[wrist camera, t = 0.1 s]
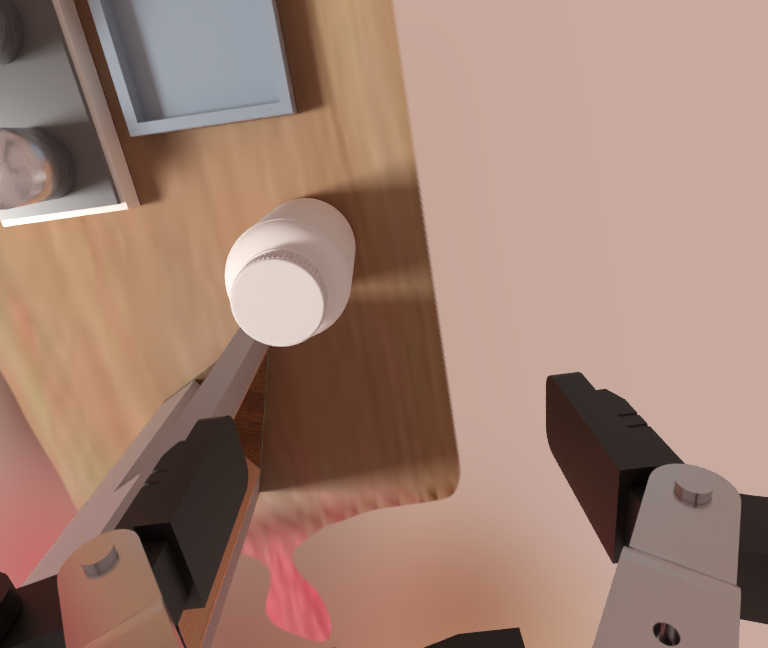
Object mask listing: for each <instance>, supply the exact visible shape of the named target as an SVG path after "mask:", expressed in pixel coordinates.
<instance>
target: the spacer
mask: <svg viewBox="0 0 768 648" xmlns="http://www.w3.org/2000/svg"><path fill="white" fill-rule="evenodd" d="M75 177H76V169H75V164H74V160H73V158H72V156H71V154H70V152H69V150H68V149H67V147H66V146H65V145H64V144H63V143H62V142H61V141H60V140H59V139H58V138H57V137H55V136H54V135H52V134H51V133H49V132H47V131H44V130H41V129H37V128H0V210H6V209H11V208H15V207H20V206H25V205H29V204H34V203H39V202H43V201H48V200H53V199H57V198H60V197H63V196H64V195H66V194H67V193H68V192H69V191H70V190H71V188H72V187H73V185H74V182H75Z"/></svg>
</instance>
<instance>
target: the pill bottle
mask: <svg viewBox="0 0 768 648" xmlns="http://www.w3.org/2000/svg"><path fill="white" fill-rule="evenodd" d="M355 251H356V245H355V238H354V234H353V231H352V229H351V227H350V225H349V223H348V221H347V220H346V218H345V217H344V216H343V215H342V214H341V213H340V212H339V211H338V210H337V209H336V208H334V207H333V206H331V205H330V204H328V203H326V202H323V201H321V200H317V199H312V198H299V199H293V200H290V201H287V202H285V203H283V204H281V205H279V206H278V207H276V208H275V209H274V210H273V211H271V212H270V213H269V214H267V215H266V216H265V217H263V218H262V219H261V220H260V221H258V222H257V223H256V224H254V225H253V226H252V227H250V228H249V229H248V230H247V231H245V232H244V233H243V234H242V235H241V236H240V237H239V238H238V240H237V241H236V242H235V244H234V245H233V247H232V249H231V251H230V253H229V255H228V258H227V262H226V267H225V285H226V290H227V294H228V297H229V299H230V305H231V309H232V313H233V316H234V318H235V319H236V322H237V323H238V325H239V326H240V327H241V328H242V330H244V332H245V333H247V334H248V335H249V336H251V337H252V338H253V339H255V340H257V341H259V342H261V343H264V344H267V345H272V346H278V347H281V346H283V347H285V346H291V345H295V344H299V343H301V342H303V341H305V340H307V338H308V339H309V338H310V337H312V336H314V335H317V334H319V333H321V332H322V331H324V330H326V329H327V328H329V327H330V326H331V325H332V324H333V323H334V322H335V321H336V320H337V319H338V318H339V317H340V315H341V314H342V313H343V311H344V309H345V307H346V305H347V302H348V300H349V296H350V292H351V285H352V277H353V269H354V260H355Z"/></svg>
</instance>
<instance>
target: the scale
mask: <svg viewBox="0 0 768 648" xmlns="http://www.w3.org/2000/svg"><path fill="white" fill-rule="evenodd" d="M12 1H13V3H14V4H15V6H16V7H17V9H18V11H19V13H20V16H21V18H22V22H23V26H24V43H23V47H22V50H21V51H20V53H19V55H18V56H17V57H16V58H15V59H14V60H13V61H11V62H9V63H7V64H4V65H0V128H37V129H41V130H44V131H47V132H49V133H51V134H52V135H54V136H55V137H57V138H58V139H59V140H60V141H61V142H62V143H63V144H64V145H65V146H66V147H67V149H68V150H69V152H70V154H71V156H72V158H73V160H74V164H75V169H76V177H75V182H74V185H73V187H72V188H71V190H70V191H69V192H68V193H67V194H66V195H64V196H63V197H60V198H57V199H53V200H48V201H43V202H39V203H34V204H29V205H25V206H20V207H15V208H11V209H6V210H0V220H1V222H2V224H3V226H4V227H6V226H13V225H20V224H27V223H34V222H41V221H48V220H55V219H62V218H69V217H77V216H84V215H91V214H98V213H105V212H112V211H119V210H126V209H131V208H134V207H137V206H140V203H139V200H138V197H137V194H136V191H135V188H134V185H133V182H132V178H131V175H130V172H129V169H128V166H127V163H126V160H125V157H124V154H123V151H122V148H121V145H120V142H119V139H118V135H117V132H116V129H115V126H114V123H113V120H112V117H111V114H110V111H109V108H108V105H107V102H106V99H105V96H104V92H103V89H102V86H101V83H100V80H99V77H98V74H97V71H96V68H95V65H94V62H93V59H92V56H91V53H90V49H89V46H88V43H87V40H86V37H85V34H84V31H83V28H82V25H81V22H80V19H79V16H78V13H77V10H76V6H75V3H74V0H12Z"/></svg>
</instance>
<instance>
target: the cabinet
mask: <svg viewBox="0 0 768 648" xmlns="http://www.w3.org/2000/svg"><path fill="white" fill-rule="evenodd" d="M269 349H270V345H267V344H264V343H261V342H259V341H257V340H255V339H253V338H252V337H251V336H249V335H248V334H247V333H245V332H244V330H242V328H241V327H240V329H239V330H238V331H237V333H236V334H235V336H234V337H233V339H232V340H231V342H230V343H229V345H228V346H227V348H226V349H225V351H224V352H223V354H222V355H221V356H220V358H219V359H218V361H217V362H215V363H214V364H213V365H211V366H210V367H209V368H207V369H206V370H205V371H204V372H202V373H201V374H200V375H198V376H197V377H196V378H194V379H193V380H192V381H190V382H189V383H188V384H186V385H185V386H184V387H182V388H181V389H180V390H178V391H177V392H176V393H175V394H173V395H172V396H171V397H169V398H168V399H167V400H165V401H164V402H163V404H162V405H161V406H160V407H159V409H158V410H157V411H156V413H155V414H154V415H153V416H152V418H151V419H150V420H149V422H148V423H147V424H146V426H145V427H144V428H143V429H142V431H141V432H140V433H139V435H138V436H137V437H136V438H135V440H134V441H133V442H132V444H131V445H130V446H129V447H128V449H127V450H126V451H125V453H124V454H123V455H122V456H121V458H120V459H119V460H118V462H117V463H116V464H115V466H114V467H113V468H112V469H111V471H110V472H109V473H108V475H107V476H106V477H105V478H104V480H103V481H102V482H101V484H100V485H99V486H98V487H97V489H96V490H95V491H94V493H93V494H92V495H91V496H90V498H89V499H88V500H87V502H86V503H85V504H84V505H83V507H82V508H81V509H80V511H79V512H78V513H77V515H76V516H75V517H74V518H73V520H72V521H71V522H70V524H69V525H68V526H67V527H66V529H65V530H64V531H63V533H62V534H61V535H60V536H59V538H58V539H57V540H56V542H55V543H54V544H53V546H52V547H51V548H50V549H49V551H48V552H47V553H46V554H45V556H44V557H43V558H42V560H41V561H40V562H39V564H38V565H37V566H36V568H35V569H34V570H33V571H32V573H31V574H30V575H29V577H28V578H27V579H26V580H25V582H24V583H23V584H22V585H21V587H23V586H26V585H28V584H31V583H34V582H37V581H39V580H42V579H45V578H48V577H51V576H53V575H56V574H58V573H59V570H60V568H61V566H62V565H63V564H64V562H65V561H66V560H67V558H68V557H69V556H70V555H71V554H72V553H73V552H74V551H75V550H77V549H78V548H79V547H80V546H82V545H83V544H84V543H86V542H87V541H89V540H91V539H93V538H94V537H97V536H99V535H101V534H103V533H106V532H109V531H113V530H114V529H115V527H116V526H117V524H118V523H119V521H120V520H121V518H122V517H123V515H124V514H125V512H126V511H127V509H128V508H129V506H130V504H131V503H132V501H133V500H134V498H135V497H136V495H137V494H138V492H139V491H140V489H141V488H142V487H144V483H145V481H146V480H147V478H148V477H149V475H150V474H152V473H153V469H154V468H155V466H156V465H157V463H158V461H159V460H160V458H161V457H162V455H164V454H165V453H166V452H167V451H168V450H169V449H171V448H172V447H173V446H174V445H175V444H176V443H178V442H179V441H184V440H186V438H187V437H188V435H189V433H190V432H191V430H192V428H193V427H194V425H195V423H196V422H197V421H198V420H199V419H203V418H211V417H219V416H227V415H229V416H231V417H232V419H233V420H234V423H235V426H236V429H237V433H238V436H239V439H240V442H241V446H242V449H243V452H244V456H245V459H246V462H247V466H248V486H247V490H246V493H245V496H244V499H243V502H242V504H241V507H240V510H239V513H238V516H237V518H236V521H235V524H234V527H233V530H232V533H231V535H230V538H229V541H228V544H227V547H226V549H225V552H224V555H223V558H222V561H221V564H220V566H219V569H218V572H217V575H216V578H215V580H214V583H213V586H212V589H211V592H210V594H209V597H208V600H207V603H206V606H205V608H197V609H189V610H183V613H182V615H181V618H180V620H179V623H178V626H179V628H180V630H181V632H182V635H183V637H184V640H185V642H186V645H187V647H188V648H211V645H212V642H213V638H214V635H215V632H216V629H217V625H218V623H219V620H220V616H221V613H222V610H223V607H224V604H225V601H226V597H227V594H228V591H229V588H230V585H231V582H232V578H233V575H234V572H235V569H236V566H237V563H238V559H239V556H240V553H241V550H242V547H243V544H244V540H245V537H246V534H247V531H248V528H249V525H250V522H251V518H252V515H253V512H254V509H255V506H256V503H257V499H258V496H259V493H260V481H261V467H262V452H263V437H264V423H265V408H266V393H267V379H268V364H269Z"/></svg>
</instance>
